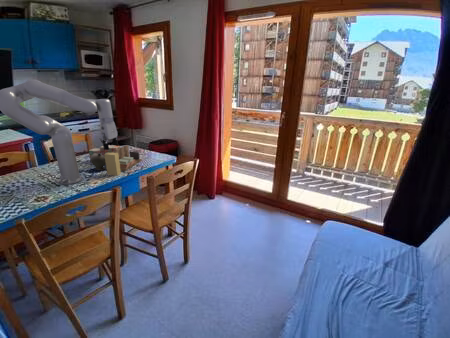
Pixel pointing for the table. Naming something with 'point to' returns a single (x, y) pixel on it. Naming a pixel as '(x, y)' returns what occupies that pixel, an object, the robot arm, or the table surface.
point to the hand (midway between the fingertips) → (111, 147)
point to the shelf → (125, 154)
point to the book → (112, 164)
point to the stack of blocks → (102, 151)
